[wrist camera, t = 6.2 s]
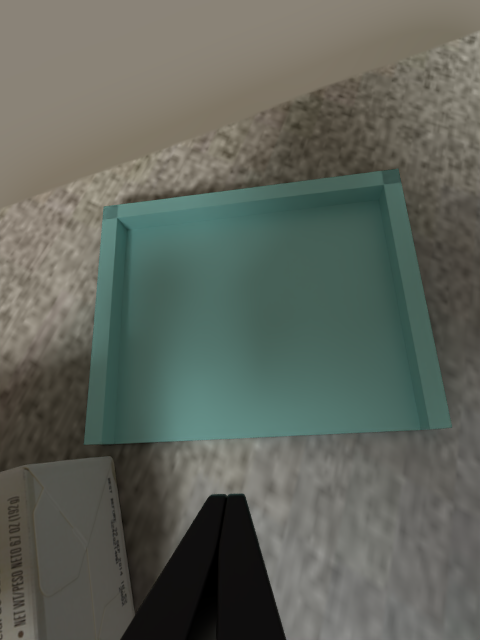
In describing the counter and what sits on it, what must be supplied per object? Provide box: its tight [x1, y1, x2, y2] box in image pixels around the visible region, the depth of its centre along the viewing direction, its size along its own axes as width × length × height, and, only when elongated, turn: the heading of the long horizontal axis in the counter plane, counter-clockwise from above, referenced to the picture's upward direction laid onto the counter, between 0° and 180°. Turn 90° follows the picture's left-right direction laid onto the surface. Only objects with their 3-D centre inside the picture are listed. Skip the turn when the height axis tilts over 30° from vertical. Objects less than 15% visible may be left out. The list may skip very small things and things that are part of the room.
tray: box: [84, 169, 452, 445], centre depth 18 cm, size 12×15×2 cm
